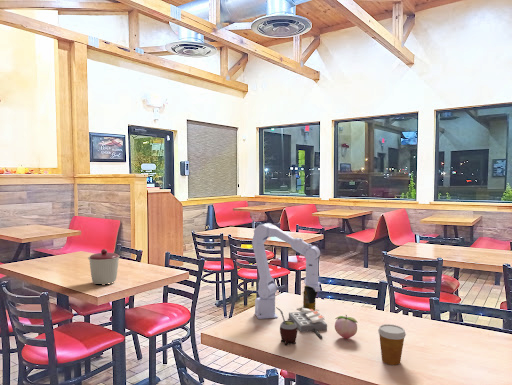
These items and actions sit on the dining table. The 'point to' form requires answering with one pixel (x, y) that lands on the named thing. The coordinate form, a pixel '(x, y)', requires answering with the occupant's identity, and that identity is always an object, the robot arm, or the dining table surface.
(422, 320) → the dining table surface
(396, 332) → the disposable coffee cup
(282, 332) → the mate gourd
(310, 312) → the rocker near arm
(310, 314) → the rocker middle
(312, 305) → the condiment
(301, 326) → the rocker switch panel
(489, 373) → the dining table surface
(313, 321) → the rocker near camera
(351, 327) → the decorative fruit
